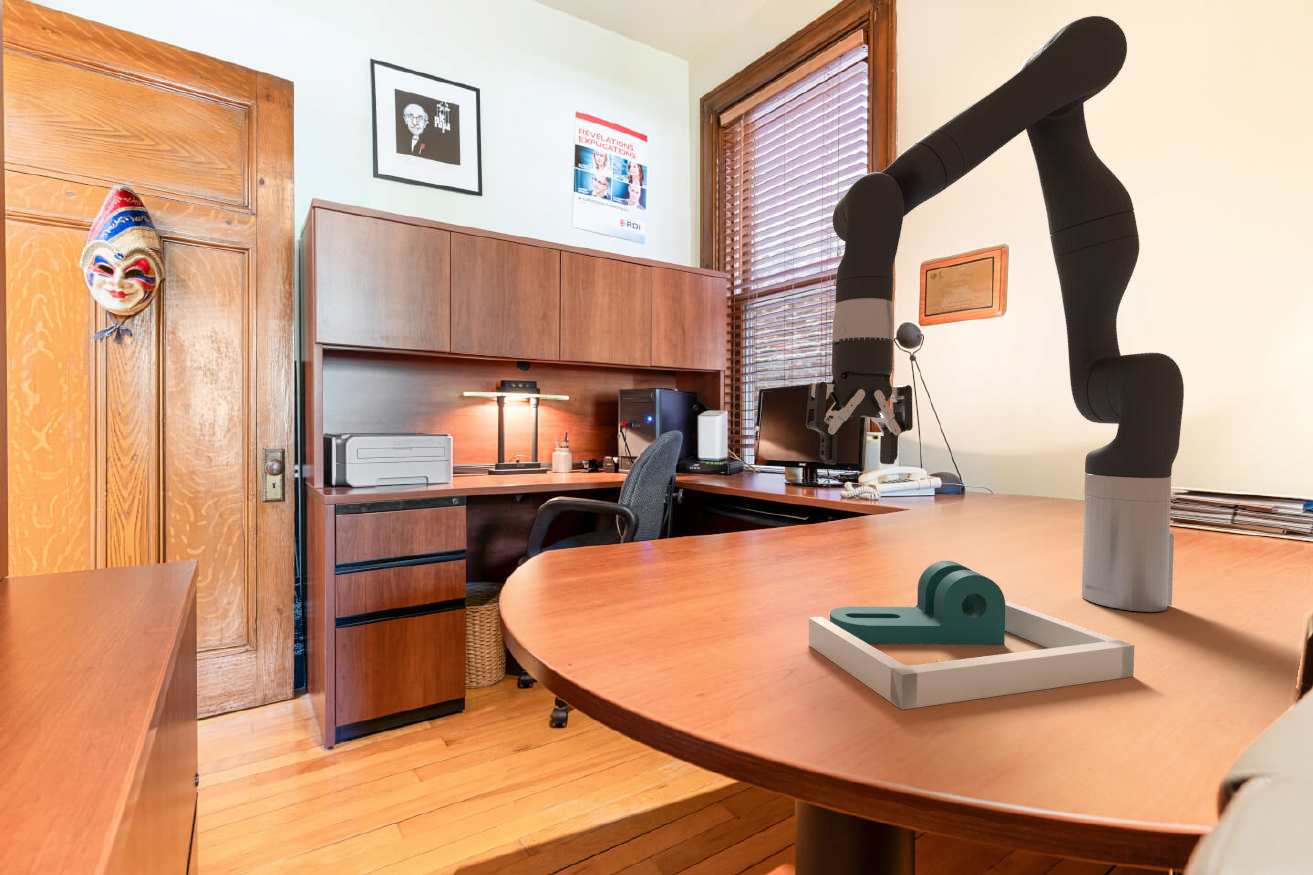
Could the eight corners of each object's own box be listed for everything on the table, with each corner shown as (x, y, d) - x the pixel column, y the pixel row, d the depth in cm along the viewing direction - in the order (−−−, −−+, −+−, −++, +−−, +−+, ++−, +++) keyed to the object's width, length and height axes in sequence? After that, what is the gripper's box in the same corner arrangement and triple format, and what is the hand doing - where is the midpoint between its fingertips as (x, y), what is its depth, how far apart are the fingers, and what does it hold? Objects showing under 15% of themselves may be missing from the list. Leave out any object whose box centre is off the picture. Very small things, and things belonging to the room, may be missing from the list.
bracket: (973, 625, 74) (974, 560, 74) (1004, 646, 68) (1006, 575, 67) (823, 624, 75) (824, 560, 74) (839, 645, 68) (840, 574, 68)
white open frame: (1002, 624, 74) (1003, 599, 74) (1133, 676, 59) (1134, 645, 59) (808, 644, 67) (808, 617, 67) (901, 709, 52) (902, 674, 52)
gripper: (891, 345, 86) (887, 462, 86) (798, 339, 82) (795, 461, 82) (929, 338, 78) (924, 466, 79) (829, 331, 74) (825, 466, 75)
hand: (858, 464), depth 80 cm, fingers open, 8 cm apart
